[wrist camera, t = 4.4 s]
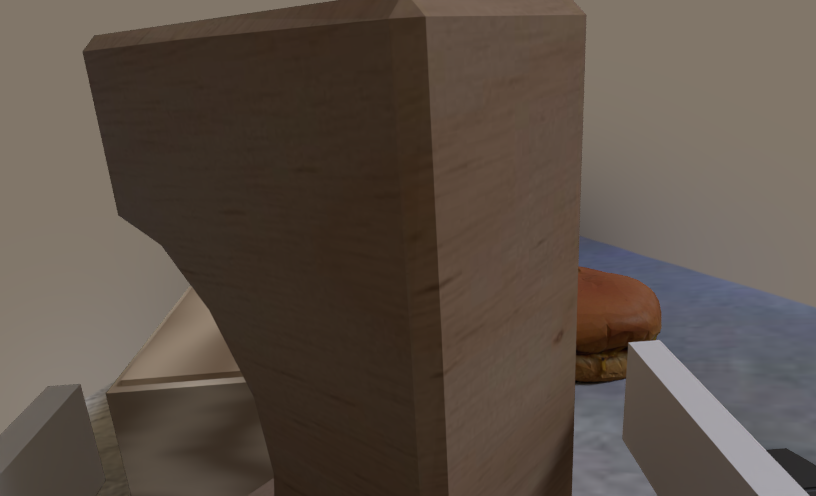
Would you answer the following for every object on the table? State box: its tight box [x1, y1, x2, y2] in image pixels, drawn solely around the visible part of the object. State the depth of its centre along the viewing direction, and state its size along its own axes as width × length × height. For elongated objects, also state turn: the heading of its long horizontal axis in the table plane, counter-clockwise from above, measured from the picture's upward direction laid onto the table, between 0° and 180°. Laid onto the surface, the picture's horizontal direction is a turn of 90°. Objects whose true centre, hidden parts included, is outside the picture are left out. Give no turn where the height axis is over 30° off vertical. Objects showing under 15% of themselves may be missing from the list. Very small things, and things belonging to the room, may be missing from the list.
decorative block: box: [83, 0, 586, 496], centre depth 16 cm, size 11×6×20 cm, turn 47°
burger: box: [575, 266, 661, 382], centre depth 39 cm, size 10×9×5 cm
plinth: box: [106, 285, 274, 496], centre depth 34 cm, size 12×14×6 cm
